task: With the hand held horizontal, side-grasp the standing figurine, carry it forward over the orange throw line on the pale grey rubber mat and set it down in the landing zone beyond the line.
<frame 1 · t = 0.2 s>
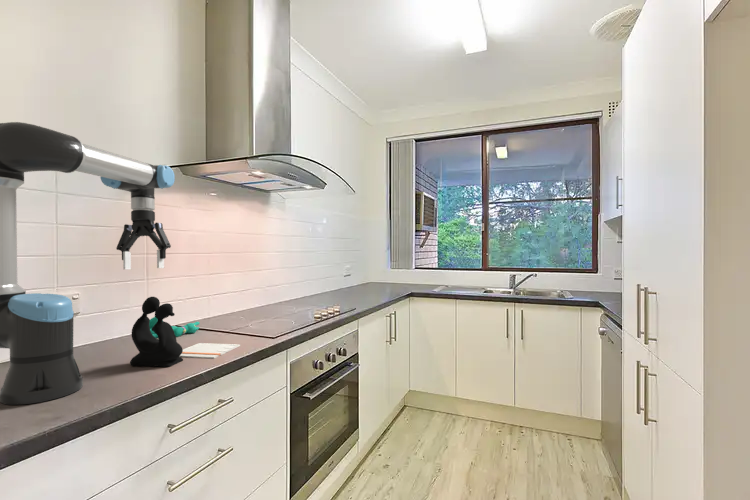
hand: (143, 268, 144), 27 cm above the countertop, tool pointing down, fingers open, 13 cm apart
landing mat: (206, 350, 133), on the countertop
toy: (166, 335, 159), on the countertop
figurine: (158, 364, 119), on the countertop
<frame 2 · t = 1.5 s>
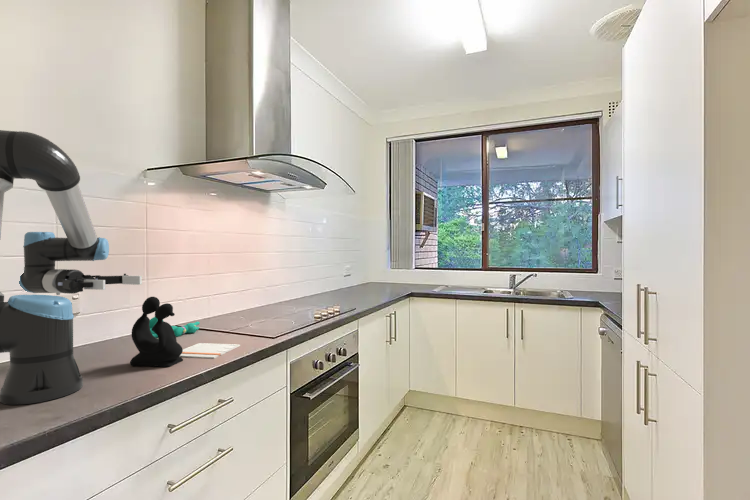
hand: (123, 282, 121), 24 cm above the countertop, tool horizontal, fingers open, 13 cm apart
nothing on the countertop moved.
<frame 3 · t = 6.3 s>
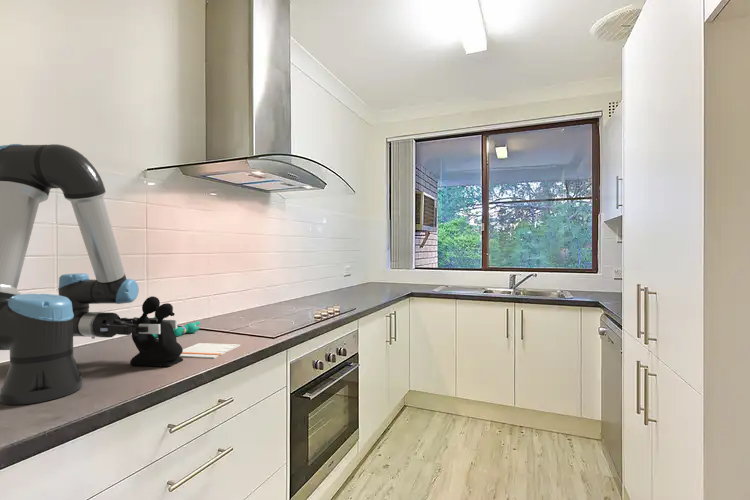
hand: (168, 326, 118), 11 cm above the countertop, tool horizontal, fingers closed on figurine, 7 cm apart
figurine: (158, 363, 119), on the countertop, touching gripper
everything else where it was.
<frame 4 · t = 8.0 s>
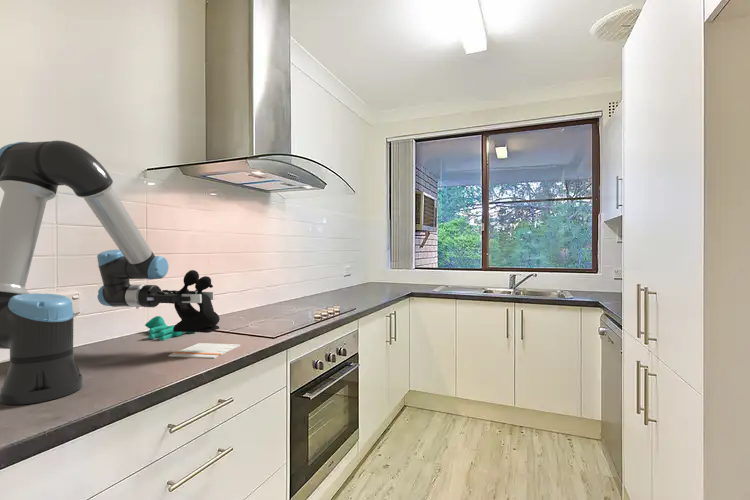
hand: (207, 297, 131), 18 cm above the countertop, tool horizontal, fingers closed on figurine, 7 cm apart
figurine: (197, 331, 132), point 7 cm above the countertop, touching gripper
everything else where it was.
when the fingers open (12 cm above the countertop, at t = 9.7 s): figurine stays where it is, resting on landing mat.
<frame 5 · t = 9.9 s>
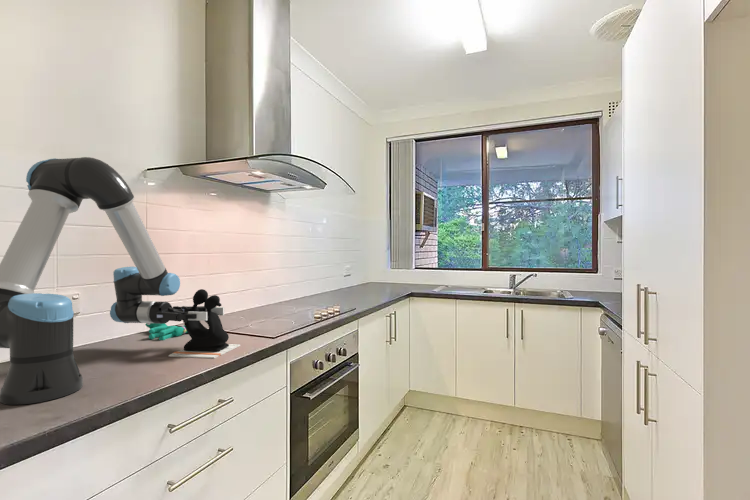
hand: (215, 313, 133), 12 cm above the countertop, tool horizontal, fingers open, 9 cm apart
figurine: (207, 349, 133), resting on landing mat
everything else where it was.
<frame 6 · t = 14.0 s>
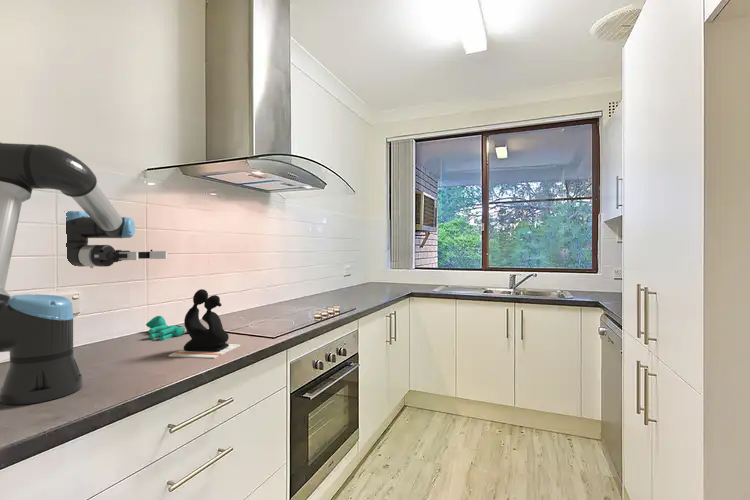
hand: (152, 255, 135), 32 cm above the countertop, tool horizontal, fingers open, 13 cm apart
nothing on the countertop moved.
at the end: figurine inside the target area (3.6 cm from its centre), resting on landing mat; figurine tilted 1°; the gripper is holding nothing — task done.
